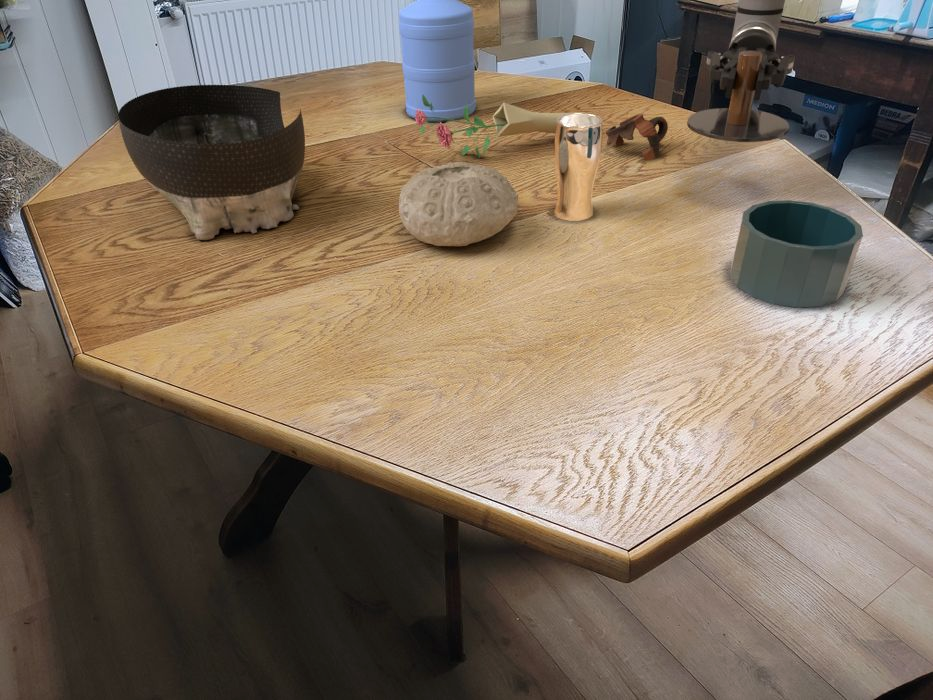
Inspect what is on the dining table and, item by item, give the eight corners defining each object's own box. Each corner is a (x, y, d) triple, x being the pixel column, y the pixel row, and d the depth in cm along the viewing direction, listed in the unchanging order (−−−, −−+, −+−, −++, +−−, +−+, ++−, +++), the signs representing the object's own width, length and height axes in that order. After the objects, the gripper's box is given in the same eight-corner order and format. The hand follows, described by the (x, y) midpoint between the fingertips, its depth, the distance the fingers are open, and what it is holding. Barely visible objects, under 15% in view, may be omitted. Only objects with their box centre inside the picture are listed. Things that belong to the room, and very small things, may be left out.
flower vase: (578, 179, 138) (423, 177, 121) (550, 144, 145) (399, 138, 128) (603, 128, 130) (441, 118, 113) (573, 93, 137) (415, 79, 120)
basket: (310, 156, 133) (295, 68, 124) (321, 233, 105) (303, 128, 96) (157, 173, 128) (130, 83, 119) (127, 258, 101) (87, 150, 91)
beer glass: (564, 228, 104) (569, 130, 95) (543, 210, 109) (547, 116, 100) (604, 220, 106) (613, 123, 97) (582, 203, 111) (588, 109, 102)
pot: (839, 266, 92) (858, 207, 87) (844, 319, 82) (866, 256, 77) (732, 252, 96) (745, 195, 91) (725, 300, 86) (739, 239, 81)
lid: (787, 119, 109) (805, 44, 103) (787, 150, 98) (806, 68, 92) (691, 112, 114) (703, 40, 107) (681, 141, 103) (692, 62, 96)
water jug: (483, 119, 148) (480, -27, 132) (411, 126, 146) (400, -22, 129) (467, 99, 161) (463, -37, 144) (401, 105, 158) (389, -32, 142)
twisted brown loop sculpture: (637, 171, 123) (619, 128, 120) (609, 177, 132) (591, 137, 129) (687, 140, 126) (670, 98, 123) (655, 149, 134) (639, 109, 132)
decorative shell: (408, 208, 112) (403, 148, 106) (517, 207, 111) (518, 147, 105) (393, 261, 97) (386, 194, 91) (518, 261, 96) (519, 194, 90)
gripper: (798, 78, 115) (799, 120, 97) (697, 72, 120) (681, 111, 102) (809, 29, 110) (812, 64, 93) (704, 26, 115) (688, 58, 98)
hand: (743, 89), depth 97 cm, fingers closed on lid, 3 cm apart
